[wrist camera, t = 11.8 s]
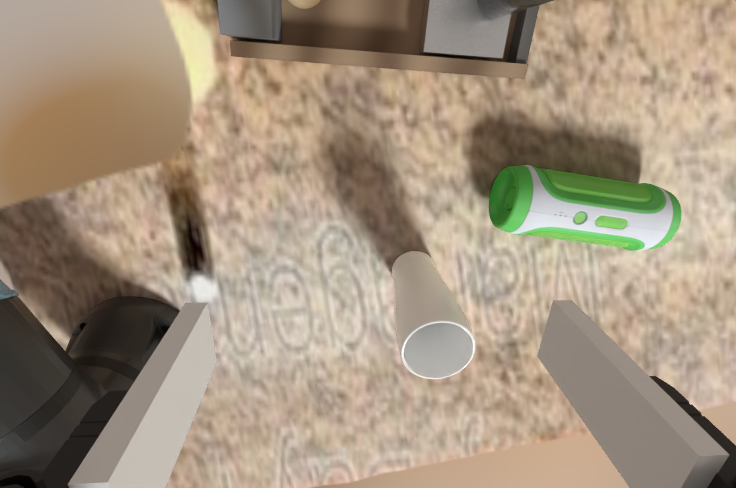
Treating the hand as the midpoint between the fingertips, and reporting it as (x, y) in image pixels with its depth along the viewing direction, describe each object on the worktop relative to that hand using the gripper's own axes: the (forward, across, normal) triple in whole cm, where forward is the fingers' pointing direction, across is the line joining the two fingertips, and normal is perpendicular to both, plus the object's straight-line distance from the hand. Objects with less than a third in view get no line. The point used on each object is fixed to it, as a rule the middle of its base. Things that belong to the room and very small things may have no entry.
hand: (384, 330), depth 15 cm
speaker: (+29, +24, -3) cm, 37 cm away
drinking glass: (+29, +8, -13) cm, 33 cm away
